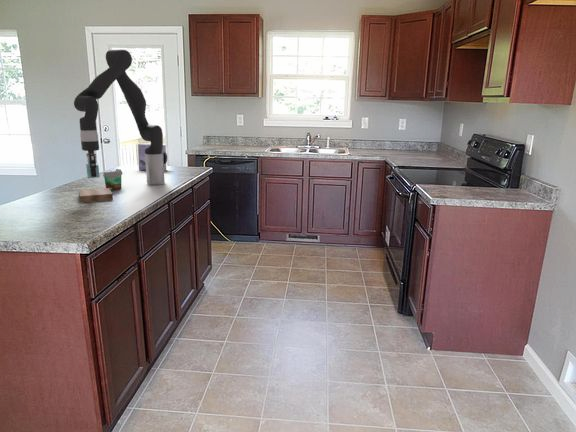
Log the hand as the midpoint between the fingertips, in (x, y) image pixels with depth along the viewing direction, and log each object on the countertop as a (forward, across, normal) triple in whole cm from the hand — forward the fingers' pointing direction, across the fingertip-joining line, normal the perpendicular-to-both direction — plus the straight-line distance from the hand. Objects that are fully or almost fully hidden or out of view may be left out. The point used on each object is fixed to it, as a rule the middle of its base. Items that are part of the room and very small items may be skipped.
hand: (93, 175), depth 201 cm
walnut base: (+11, 0, 0) cm, 11 cm away
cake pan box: (+11, +76, -43) cm, 88 cm away
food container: (+11, +18, -12) cm, 24 cm away
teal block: (+1, 0, 0) cm, 1 cm away
